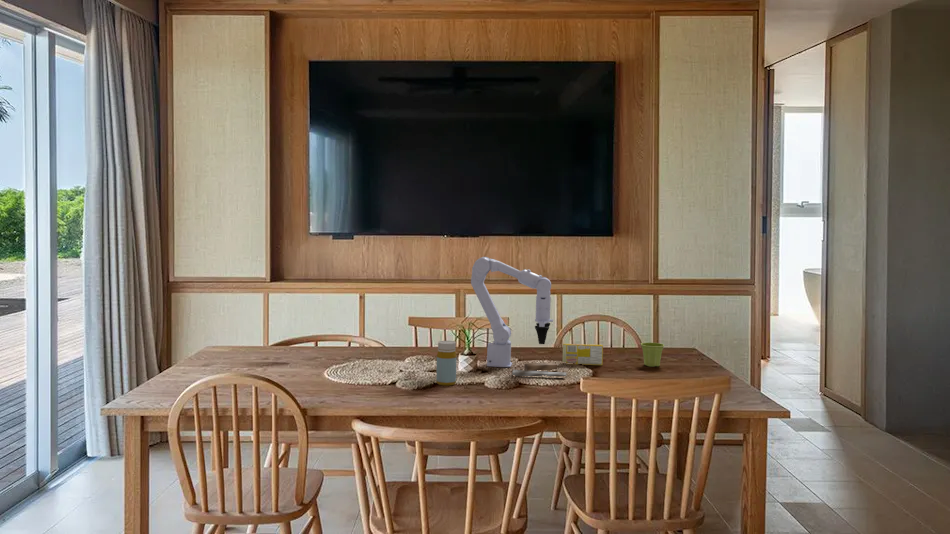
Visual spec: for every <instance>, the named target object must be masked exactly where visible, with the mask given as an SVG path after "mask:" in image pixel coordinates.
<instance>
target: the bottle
mask: <svg viewBox="0 0 950 534" xmlns="http://www.w3.org/2000/svg"><path fill="white" fill-rule="evenodd" d="M456 343H457V342H456V341H453V340H440V341H438V342H437V353H436V378H435V379H436V383H437V385H438V386H442V387H443V386H444V387H447V386H448V387H449V386H450V387H451V386H454V385H455V384H456V383H457V354H456V353H457V352H456Z"/></svg>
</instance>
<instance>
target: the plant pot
mask: <svg viewBox="0 0 950 534" xmlns="http://www.w3.org/2000/svg"><path fill="white" fill-rule="evenodd" d="M640 345H641V348H642V355H643V365H644V366H647V367H660V365H661V359H662V352H663V350H664V347H665V344H664V343H660V342H659V343H658V342H641V343H640Z"/></svg>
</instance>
